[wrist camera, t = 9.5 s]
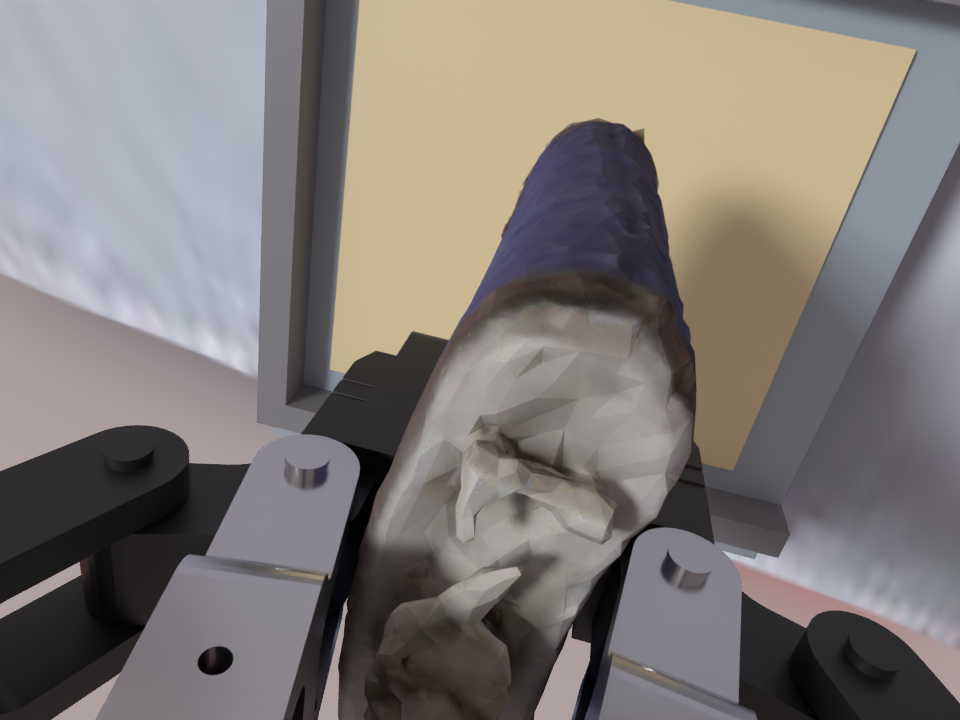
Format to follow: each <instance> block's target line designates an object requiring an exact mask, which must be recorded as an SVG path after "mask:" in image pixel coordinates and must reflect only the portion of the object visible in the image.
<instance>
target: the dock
mask: <svg viewBox="0 0 960 720" xmlns="http://www.w3.org/2000/svg"><path fill="white" fill-rule="evenodd" d="M596 118H600V119H603V120H606V121H609V122H612V123H619V124H624V125H625V126H626V127H628V128H629V129H630V130H631V131H636V130H639V129H643V128H644V144H645V145H646V147H647V148H648V150H649V151H650V153H651V155H652V159H653V161H654V164H655V167H656V171H657V176H658V181H659V187H658V195H659V196H660V198H661V201H662V206H663V212H664V217H665V223H666V227H667V231H668V244H669V256H670V258H671V261H672V264H673V271H674V274H675V278H676V284H677V288H678V292H679V297H680V299H681V301H682V302H683V304H684V310H683V319H684V321H685V322H686V324H687V325H688V327H689V329H690V334H691V342H690V344H691V346H692V348H693V350H694V352H695V365H696V387H697V392H696V415H695V428H694V440H693V441H694V442H695V443H696V445H697V446H698V447H699V450H700V456H701V462H702V468H703V469H702V472H703V474H704V481H705V488H704V489H705V490H706V493H707V499H708V506H709V512H710V518H711V524H712V530H713V537H714V543H715V546H717V547H718V548H719V549H720V550H722V551H726V552H730V553H733V554H737V555H741V556H745V557H749V558H753V559H755V557H756V555H757V553H762V554H765V555H769V556H773V557H777V558H778V557H779V555H780V553H781V551H782V549H783V547H784V545H785V543H786V541H787V540H788V538H789V536H790V534H789V531H788V527H787V524H786V520H785V517H784V514H783V510H782V507H781V505H782V502H783V500H784V498H785V496H786V494H787V492H788V490H789V488H790V486H791V484H792V482H793V480H794V478H795V476H796V474H797V472H798V470H799V468H800V466H801V464H802V462H803V460H804V458H805V456H806V454H807V452H808V450H809V448H810V446H811V444H812V442H813V440H814V438H815V436H816V433H817V431H818V429H819V427H820V425H821V423H822V421H823V419H824V417H825V415H826V413H827V411H828V409H829V407H830V405H831V403H832V401H833V399H834V397H835V395H836V393H837V391H838V389H839V387H840V385H841V383H842V381H843V379H844V377H845V375H846V373H847V371H848V369H849V367H850V365H851V362H852V360H853V358H854V356H855V354H856V352H857V350H858V348H859V346H860V344H861V342H862V340H863V338H864V336H865V334H866V332H867V330H868V328H869V326H870V324H871V322H872V320H873V318H874V316H875V314H876V312H877V310H878V308H879V306H880V304H881V302H882V300H883V298H884V296H885V293H886V291H887V289H888V287H889V285H890V283H891V281H892V279H893V277H894V275H895V273H896V271H897V269H898V267H899V265H900V263H901V261H902V259H903V257H904V255H905V253H906V251H907V249H908V247H909V245H910V243H911V241H912V239H913V237H914V235H915V233H916V231H917V229H918V227H919V224H920V222H921V220H922V218H923V216H924V214H925V212H926V210H927V208H928V206H929V204H930V202H931V200H932V198H933V196H934V194H935V192H936V190H937V188H938V186H939V184H940V182H941V180H942V178H943V176H944V174H945V172H946V170H947V168H948V166H949V164H950V162H951V160H952V158H953V155H954V153H955V151H956V149H957V147H958V145H959V143H960V0H267V25H266V68H265V110H264V152H263V194H262V236H261V278H260V320H259V363H258V407H257V423H261V424H265V425H269V426H272V427H275V434H277V435H281V436H284V437H287V436H292V435H300V434H301V433H302V432H303V430H304V429H305V428H306V426H307V425H308V424H309V422H310V421H311V420H312V418H313V417H314V415H315V414H316V413H317V411H318V410H319V409H320V407H321V406H322V405H323V403H324V402H325V401H326V399H327V398H328V397H329V395H330V394H332V393H333V390H334V388H335V387H336V386H337V384H338V383H339V382H340V380H342V379H343V376H344V375H345V374H346V372H347V371H348V370H349V368H350V367H351V366H352V364H353V363H354V361H356V360H358V359H360V358H362V357H364V356H366V355H368V354H370V353H372V352H375V351H380V352H384V353H388V354H392V355H397V354H398V352H399V351H400V349H401V348H402V346H403V344H404V343H405V341H406V340H407V338H408V337H409V335H410V333H411V332H412V331H415V332H419V333H423V334H427V335H431V336H435V337H439V338H443V339H447V340H450V338H451V336H452V334H453V332H454V330H455V329H456V327H457V325H458V323H459V321H460V319H461V318H462V316H463V315H464V313H465V312H466V310H467V309H468V307H469V305H470V304H471V302H472V299H473V297H474V295H475V293H476V291H477V289H478V287H479V286H480V284H481V282H482V280H483V278H484V275H485V273H486V271H487V269H488V267H489V266H490V264H491V261H492V259H493V257H494V254H495V253H496V251H497V248H498V246H499V244H500V242H501V240H502V238H501V234H502V231H503V228H504V226H505V224H506V223H508V219H509V217H510V216H511V215H512V212H513V209H515V205H516V202H517V199H518V197H519V191H521V190H522V189H523V185H522V184H523V182H524V180H525V179H526V177H527V175H528V174H529V172H530V170H531V169H532V167H533V165H534V164H535V163H536V162H537V160H538V158H539V156H540V155H541V154H542V152H543V151H544V150H545V145H546V144H547V143H548V142H549V141H550V140H551V139H552V138H553V137H554V136H555V135H556V134H558V133H559V132H560V131H562V130H563V129H564V128H565V127H566V126H567V125H568V124H571V123H573V122H582V121H588V120H592V119H596Z"/></svg>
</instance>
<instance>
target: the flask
mask: <svg viewBox="0 0 960 720" xmlns="http://www.w3.org/2000/svg"><path fill="white" fill-rule="evenodd" d="M522 185H523V189H522V190H521V191H519V197H518V199H517V202H516V205H515V209H513V212H512V215H511V216H510V217H509V219H508V223H506V224H505V226H504V228H503V231H502V234H501V238H502V240H501V242H500V244H499V246H498V248H497V251H496V253H495V254H494V257H493V259H492V261H491V264H490V266H489V267H488V269H487V271H486V273H485V275H484V278H483V280H482V282H481V284H480V286H479V287H478V289H477V291H476V293H475V295H474V297H473V299H472V302H471V304H470V305H469V307H468V309H467V310H466V312H465V313H464V315H463V316H462V318H461V319H460V321H459V323H458V325H457V327H456V329H455V330H454V332H453V334H452V336H451V338H450V340H449V341H448V343H447V345H446V347H445V349H444V351H443V352H442V354H441V356H440V358H439V360H438V361H437V363H436V365H435V368H434V370H433V372H432V374H431V376H430V378H429V380H428V382H427V384H426V387H425V389H424V391H423V393H422V395H421V397H420V399H419V401H418V403H417V406H416V408H415V410H414V412H413V414H412V416H411V419H410V421H409V423H408V426H407V428H406V430H405V433H404V435H403V438H402V440H401V442H400V445H399V447H398V449H397V452H396V455H395V457H394V460H393V462H392V465H391V468H390V470H389V472H388V474H387V476H386V477H385V479H384V481H383V483H382V485H381V486H380V488H379V490H378V492H377V494H376V498H375V501H374V505H373V509H372V513H371V516H370V519H369V522H368V525H367V528H366V531H365V533H364V536H363V539H362V542H361V545H360V548H359V556H358V563H357V567H356V571H355V575H354V579H353V582H352V586H351V589H350V593H349V596H348V600H347V610H348V612H347V614H346V618H345V628H344V638H343V643H342V649H341V654H340V659H339V665H338V670H339V700H338V702H339V703H338V718H339V720H534V712H535V710H536V708H537V705H538V703H539V701H540V698H541V696H542V694H543V692H544V689H545V686H546V684H547V681H548V679H549V676H550V673H551V671H552V668H553V666H554V664H555V662H556V660H557V658H558V656H559V654H560V652H561V650H562V648H563V646H564V643H565V640H566V637H567V634H568V631H569V629H570V628H571V626H572V624H573V623H574V621H575V620H576V618H577V616H578V615H579V613H580V611H581V610H582V608H583V607H584V605H585V603H586V602H587V600H588V598H589V597H590V595H591V593H592V591H593V589H594V587H595V585H596V583H597V581H598V580H599V579H600V577H601V576H602V575H603V574H604V572H605V571H606V570H607V569H608V568H609V566H610V565H611V564H612V563H613V562H614V561H615V560H616V559H617V558H618V557H619V556H620V555H621V554H622V552H623V551H624V549H625V547H626V546H627V544H628V543H629V541H630V540H631V538H632V537H634V536H635V535H637V534H638V533H639V532H640V531H641V530H643V529H644V528H645V527H646V526H647V525H648V524H649V523H651V522H652V521H653V520H654V519H655V518H656V517H657V515H658V513H659V511H660V509H661V506H662V504H663V502H664V500H665V498H666V496H667V494H668V493H669V491H670V490H671V489H672V488H673V486H674V485H675V484H676V483H677V481H678V479H679V477H680V475H681V473H682V471H683V469H684V467H685V465H686V463H687V461H688V459H689V457H690V455H691V453H692V451H693V440H694V428H695V415H696V392H697V387H696V365H695V352H694V350H693V348H692V346H691V344H690V342H691V334H690V329H689V327H688V325H687V324H686V322H685V321H684V319H683V310H684V304H683V302H682V301H681V299H680V297H679V292H678V288H677V284H676V278H675V274H674V271H673V264H672V261H671V258H670V256H669V244H668V231H667V227H666V223H665V217H664V212H663V206H662V201H661V198H660V196H659V195H658V187H659V181H658V176H657V171H656V167H655V164H654V161H653V159H652V155H651V153H650V151H649V150H648V148H647V147H646V145H645V144H644V128H643V129H639V130H636V131H631V130H630V129H629V128H628V127H626V126H625V125H624V124H619V123H612V122H609V121H606V120H603V119H600V118H596V119H592V120H588V121H582V122H573V123H571V124H568V125H567V126H566V127H565V128H564V129H563V130H562V131H560V132H559V133H558V134H556V135H555V136H554V137H553V138H552V139H551V140H550V141H549V142H548V143H547V144H546V145H545V150H544V151H543V152H542V154H541V155H540V156H539V158H538V160H537V162H536V163H535V164H534V165H533V167H532V169H531V170H530V172H529V174H528V175H527V177H526V179H525V180H524V182H523V184H522Z"/></svg>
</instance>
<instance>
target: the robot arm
mask: <svg viewBox="0 0 960 720" xmlns="http://www.w3.org/2000/svg"><path fill="white" fill-rule="evenodd" d="M448 341H449V340H447V339H443V338H439V337H435V336H431V335H427V334H423V333H419V332H415V331H412V332H411V333H410V335H409V337H408V338H407V340H406V341H405V343H404V344H403V346H402V348H401V349H400V351H399V352H398V354H397V355H392V354H388V353H384V352H380V351H375V352H372V353H370V354H368V355H366V356H364V357H362V358H360V359H358V360H356V361H354V363H353V364H352V366H351V367H350V368H349V370H348V371H347V372H346V374H345V375H344V376H343V379H342V380H340V382H339V383H338V384H337V386H336V387H335V388H334V390H333V393H332V394H330V395H329V397H328V398H327V399H326V401H325V402H324V403H323V405H322V406H321V407H320V409H319V410H318V411H317V413H316V414H315V415H314V417H313V418H312V420H311V421H310V422H309V424H308V425H307V426H306V428H305V429H304V430H303V432H302V433H301V434H300V435H292V436H287V437H283V438H280V439H277V440H274V441H272V442H270V443H268V444H267V445H265V446H264V447H262V448H261V450H259V451H258V453H257V454H256V456H255V457H254V459H253V461H252V463H251V464H242V465H219V464H194V463H193V464H192V463H189V450H188V447H187V445H186V443H185V442H184V440H182V439H181V438H180V437H179V436H178V435H176V434H174V433H172V432H170V431H168V430H165V429H162V428H158V427H152V426H140V425H135V426H123V427H116V428H112V429H108V430H105V431H102V432H99V433H97V434H93V435H91V436H88V437H86V438H84V439H81V440H78V441H76V442H73V443H71V444H68V445H66V446H63V447H61V448H58V449H56V450H53V451H51V452H48V453H46V454H43V455H40V456H38V457H35V458H33V459H30V460H28V461H25V462H23V463H21V464H18V465H15V466H13V467H10V468H8V469H5V470H3V471H0V604H1V603H3V602H4V601H6V600H8V599H10V598H12V597H14V596H15V595H17V594H19V593H21V592H23V591H25V590H27V589H29V588H31V587H32V586H34V585H36V584H38V583H40V582H42V581H44V580H46V579H48V578H49V577H51V576H53V575H55V574H57V573H59V572H61V571H63V570H65V569H67V568H68V567H70V566H72V565H74V564H76V563H78V562H80V568H81V576H79V577H77V578H75V579H73V580H71V581H69V582H68V583H66V584H64V585H62V586H60V587H58V588H57V589H55V590H53V591H51V592H49V593H47V594H46V595H44V596H42V597H40V598H38V599H36V600H34V601H33V602H31V603H29V604H27V605H25V606H23V607H22V608H20V609H18V610H16V611H14V612H12V613H11V614H9V615H7V616H5V617H3V618H1V619H0V720H51V719H53V718H54V717H56V716H57V715H58V714H60V713H61V712H63V711H64V710H66V709H67V708H69V707H70V706H72V705H73V704H75V703H76V702H78V701H79V700H81V699H82V698H84V697H85V696H87V695H88V694H89V693H91V692H92V691H94V690H95V689H96V688H98V687H100V686H101V685H103V684H104V683H106V682H107V681H109V680H110V679H112V678H113V677H114V676H116V675H117V674H119V673H120V675H119V677H118V678H117V680H116V682H115V684H114V686H113V688H112V690H111V691H110V693H109V695H108V697H107V699H106V701H105V703H104V704H103V706H102V708H101V710H100V712H99V714H98V716H97V718H96V720H318V715H319V711H320V707H321V703H322V698H323V694H324V690H325V686H326V682H327V678H328V674H329V670H330V665H331V661H332V657H333V652H334V649H335V645H336V640H337V636H338V632H339V628H340V624H341V620H342V614H343V606H344V603H345V601H346V599H347V598H348V596H349V593H350V589H351V586H352V582H353V579H354V575H355V571H356V567H357V563H358V556H359V548H360V545H361V542H362V539H363V536H364V533H365V531H366V528H367V525H368V522H369V519H370V516H371V513H372V509H373V505H374V501H375V498H376V494H377V492H378V490H379V488H380V486H381V485H382V483H383V481H384V479H385V477H386V476H387V474H388V472H389V470H390V468H391V465H392V462H393V460H394V457H395V455H396V452H397V449H398V447H399V445H400V442H401V440H402V438H403V435H404V433H405V430H406V428H407V426H408V423H409V421H410V419H411V416H412V414H413V412H414V410H415V408H416V406H417V403H418V401H419V399H420V397H421V395H422V393H423V391H424V389H425V387H426V384H427V382H428V380H429V378H430V376H431V374H432V372H433V370H434V368H435V365H436V363H437V361H438V360H439V358H440V356H441V354H442V352H443V351H444V349H445V347H446V345H447V343H448ZM702 469H703V468H702V462H701V456H700V450H699V447H698V446H697V445H696V443H695V442H694V441H693V451H692V453H691V455H690V457H689V459H688V461H687V463H686V465H685V467H684V469H683V471H682V473H681V475H680V477H679V479H678V481H677V483H676V484H675V485H674V486H673V488H672V489H671V490H670V491H669V493H668V494H667V496H666V498H665V500H664V502H663V504H662V506H661V509H660V511H659V513H658V515H657V517H656V518H655V519H654V520H653V521H652V522H651V523H649V524H648V525H647V526H646V527H645V528H644V529H643V530H641V531H640V532H639V533H638V534H637V535H635V536H634V537H632V538H631V540H630V541H629V543H628V544H627V546H626V547H625V549H624V551H623V552H622V554H621V555H620V556H619V557H618V558H617V559H616V560H615V561H614V562H613V563H612V564H611V565H610V566H609V568H608V569H607V570H606V571H605V572H604V574H603V575H602V576H601V577H600V579H599V580H598V581H597V583H596V585H595V587H594V589H593V591H592V593H591V595H590V597H589V598H588V600H587V602H586V603H585V605H584V607H583V608H582V610H581V611H580V613H579V615H578V616H577V618H576V620H575V621H574V623H573V627H572V638H574V639H577V640H581V641H585V642H588V643H591V653H590V662H589V665H588V668H587V670H586V673H585V675H584V678H583V680H582V683H581V686H580V690H579V694H578V697H577V701H576V705H575V709H574V713H573V716H572V720H960V703H959V702H958V701H957V700H956V699H955V697H954V696H953V695H952V694H951V693H950V692H949V691H948V690H947V689H946V687H945V686H944V685H943V684H942V683H941V681H940V680H939V679H938V678H937V677H936V676H935V675H934V674H933V672H932V671H931V670H930V669H929V668H928V667H927V666H926V664H925V663H924V662H923V661H922V660H921V659H920V658H919V656H918V655H917V654H916V653H915V652H914V651H913V650H912V649H911V648H910V647H909V646H908V645H907V644H906V643H905V642H904V641H902V640H901V639H900V638H899V637H898V636H896V635H895V634H894V633H892V632H891V631H889V630H888V629H886V628H885V627H883V626H881V625H880V624H878V623H876V622H874V621H872V620H870V619H868V618H865V617H863V616H860V615H857V614H853V613H849V612H844V611H827V612H822V613H820V614H818V615H816V616H815V617H814V618H813V619H812V620H811V622H810V623H809V625H808V627H807V628H804V627H802V626H801V625H799V624H797V623H795V622H793V621H791V620H789V619H787V618H785V617H783V616H781V615H779V614H777V613H775V612H773V611H771V610H769V609H767V608H765V607H764V606H762V605H760V604H759V603H757V602H756V601H754V600H752V599H751V598H750V597H748V596H747V595H746V594H745V593H744V592H742V584H741V578H740V575H739V572H738V570H737V568H736V567H735V565H734V564H733V562H732V561H731V560H730V558H729V557H728V556H727V555H726V554H725V553H724V552H723V551H722V550H720V549H719V548H718V547H717V546H715V543H714V537H713V530H712V524H711V518H710V512H709V506H708V499H707V493H706V490H705V489H704V488H705V481H704V474H703V472H702Z"/></svg>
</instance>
